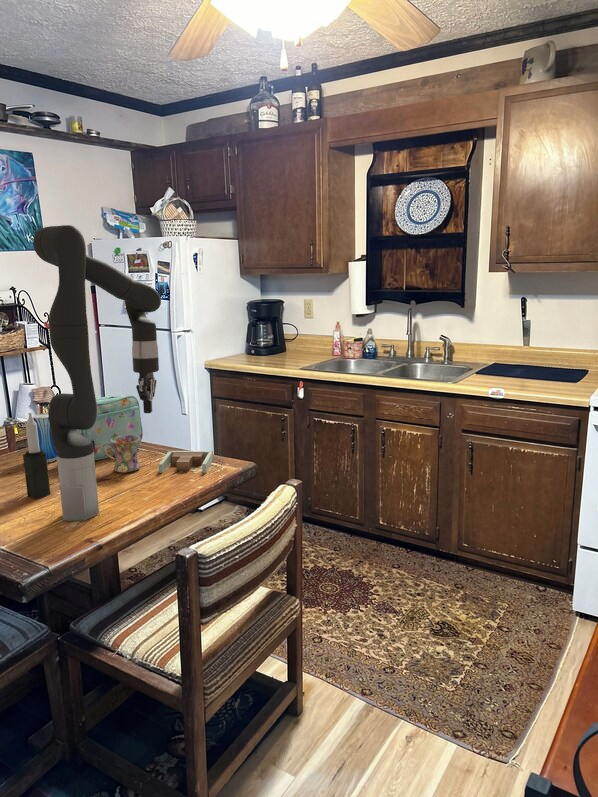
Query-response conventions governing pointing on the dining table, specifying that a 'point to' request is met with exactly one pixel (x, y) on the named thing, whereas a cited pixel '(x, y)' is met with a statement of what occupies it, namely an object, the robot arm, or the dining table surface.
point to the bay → (206, 454)
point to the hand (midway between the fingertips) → (148, 412)
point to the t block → (186, 460)
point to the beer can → (45, 436)
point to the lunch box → (113, 423)
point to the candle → (35, 464)
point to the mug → (125, 453)
